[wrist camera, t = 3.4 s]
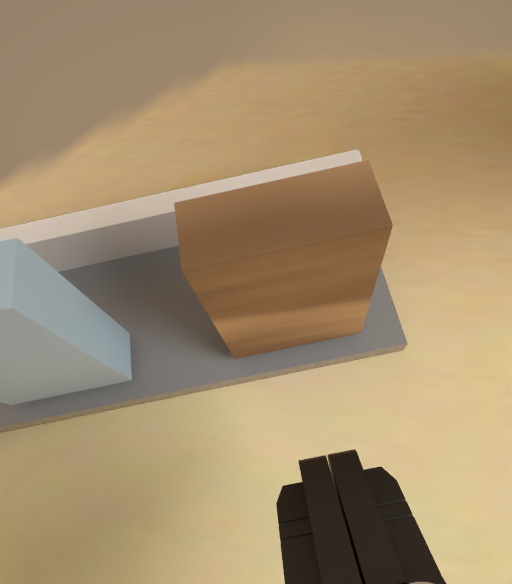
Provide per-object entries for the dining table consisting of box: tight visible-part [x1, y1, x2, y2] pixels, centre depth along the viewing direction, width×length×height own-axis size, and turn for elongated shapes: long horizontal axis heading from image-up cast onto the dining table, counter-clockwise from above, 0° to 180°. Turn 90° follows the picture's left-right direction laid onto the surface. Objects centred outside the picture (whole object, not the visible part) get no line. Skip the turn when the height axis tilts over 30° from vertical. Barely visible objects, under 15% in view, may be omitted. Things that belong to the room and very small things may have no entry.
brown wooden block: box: [174, 160, 393, 359], centre depth 17 cm, size 2×6×9 cm, turn 100°
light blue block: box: [0, 238, 132, 405], centre depth 17 cm, size 2×6×9 cm, turn 100°
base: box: [0, 149, 407, 432], centre depth 22 cm, size 9×21×4 cm, turn 100°
